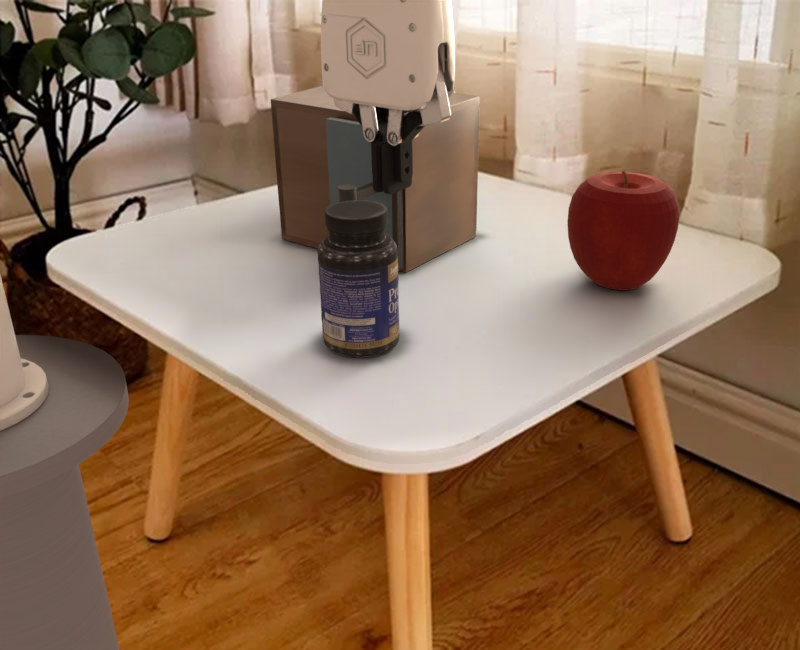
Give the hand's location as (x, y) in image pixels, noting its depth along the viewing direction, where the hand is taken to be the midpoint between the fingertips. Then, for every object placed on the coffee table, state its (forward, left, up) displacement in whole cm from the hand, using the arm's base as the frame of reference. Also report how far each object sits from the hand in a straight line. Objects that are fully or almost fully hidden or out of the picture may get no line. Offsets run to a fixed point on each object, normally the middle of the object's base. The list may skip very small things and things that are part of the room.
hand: (392, 188), depth 77 cm
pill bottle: (-8, -3, -10) cm, 13 cm away
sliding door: (+2, +7, -10) cm, 12 cm away
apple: (+15, -14, -10) cm, 23 cm away
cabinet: (+12, +11, -10) cm, 19 cm away
